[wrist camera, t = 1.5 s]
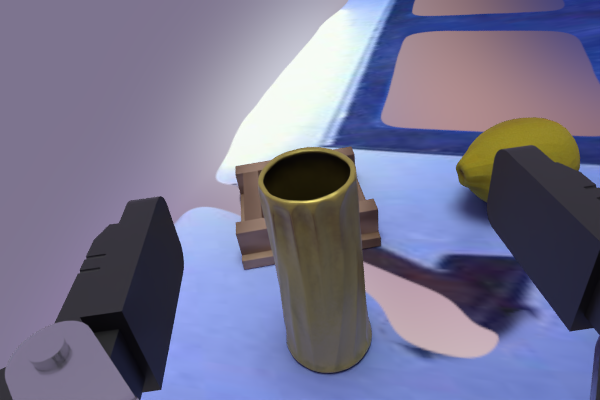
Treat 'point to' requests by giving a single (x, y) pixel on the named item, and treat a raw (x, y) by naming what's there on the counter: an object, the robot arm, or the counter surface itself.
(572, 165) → the lemon
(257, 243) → the socket block
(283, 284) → the vase
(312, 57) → the counter surface
